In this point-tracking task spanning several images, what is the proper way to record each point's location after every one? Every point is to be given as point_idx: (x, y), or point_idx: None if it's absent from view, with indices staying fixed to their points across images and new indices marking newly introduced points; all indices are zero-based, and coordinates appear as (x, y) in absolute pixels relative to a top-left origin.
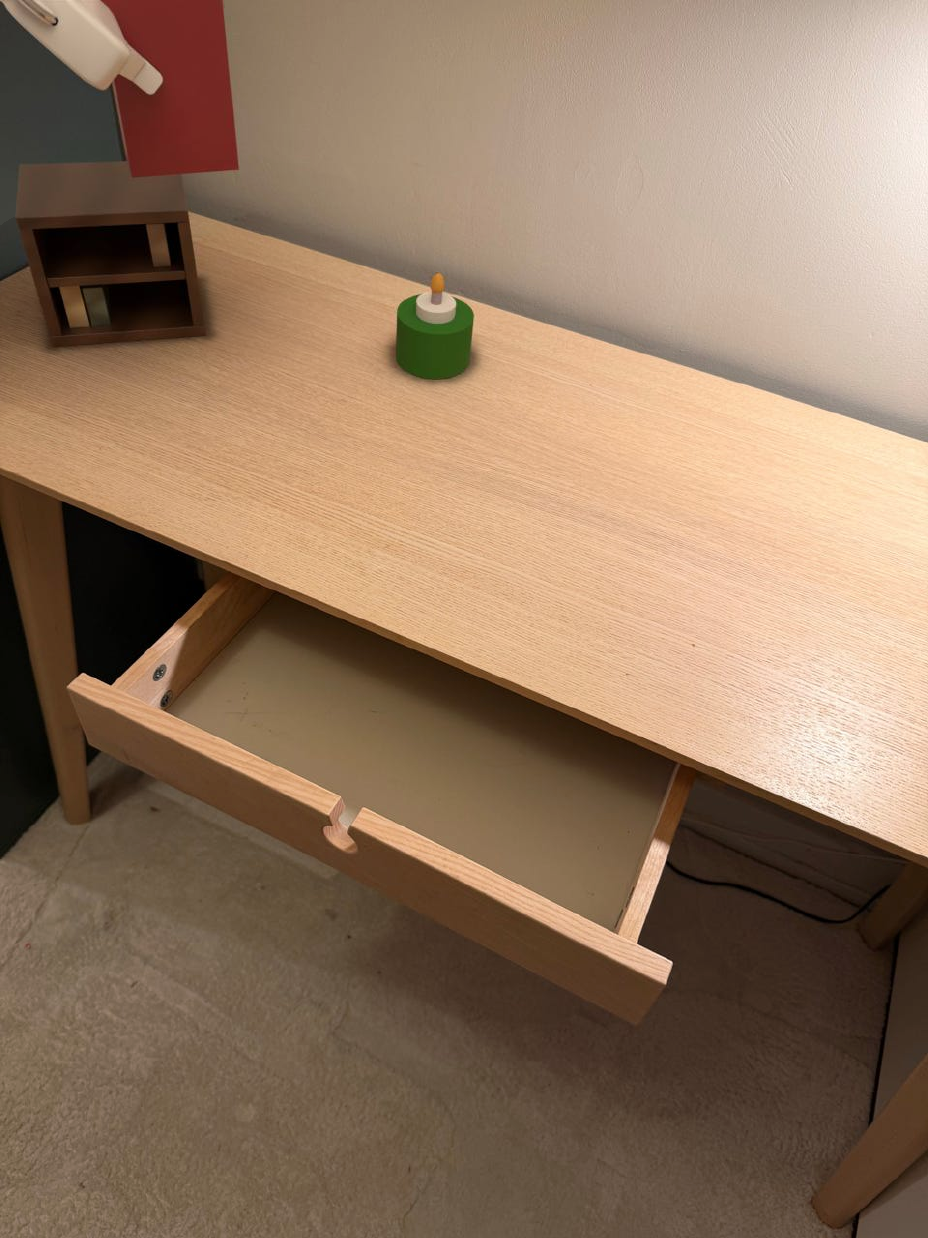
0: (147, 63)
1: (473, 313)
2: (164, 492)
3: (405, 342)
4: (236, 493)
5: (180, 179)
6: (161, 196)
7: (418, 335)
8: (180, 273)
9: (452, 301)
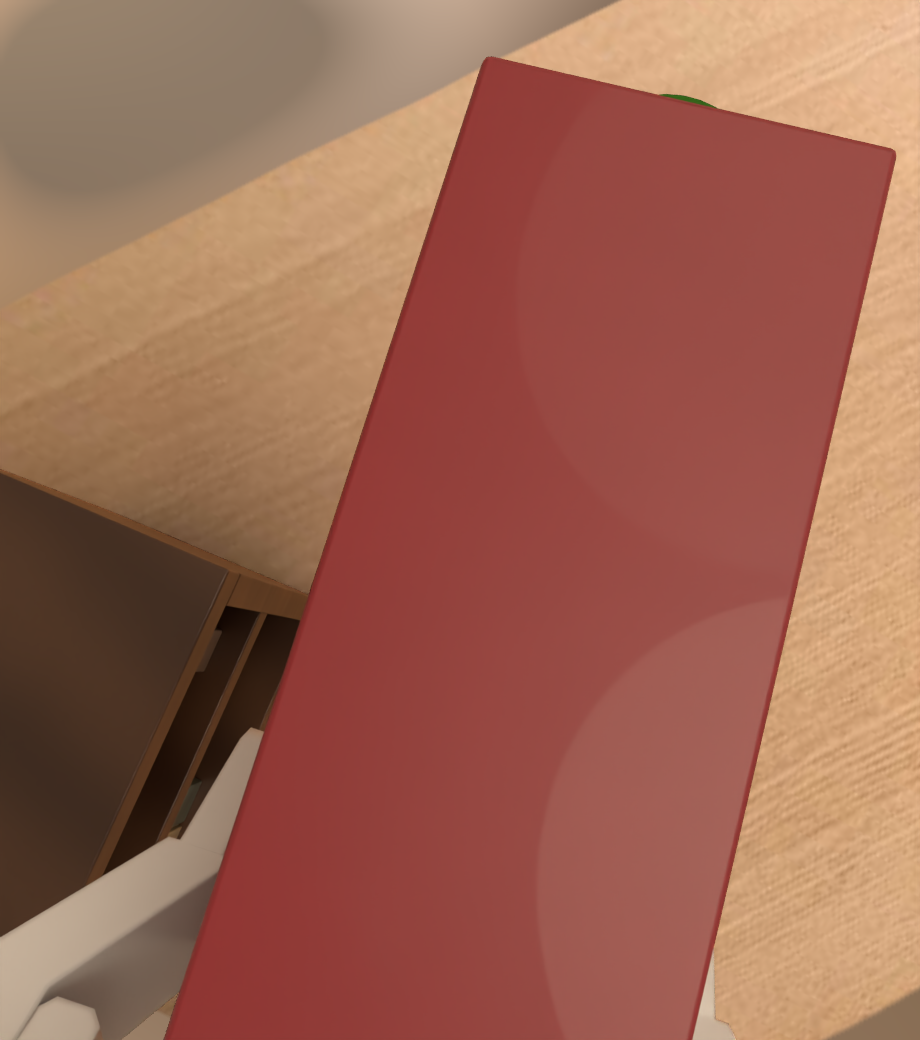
0: (711, 998)
1: (709, 104)
2: (780, 942)
3: None
4: (853, 818)
5: (40, 496)
6: (111, 598)
7: None
8: (258, 622)
9: None
